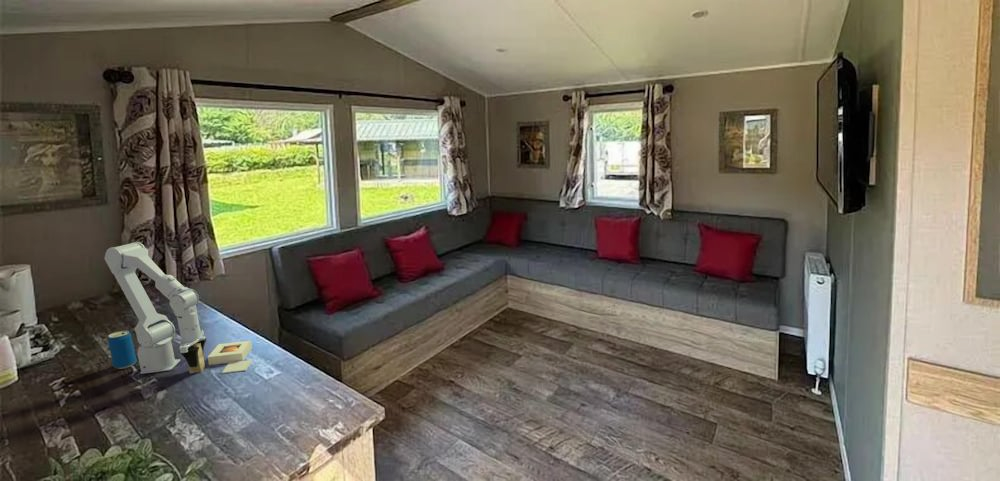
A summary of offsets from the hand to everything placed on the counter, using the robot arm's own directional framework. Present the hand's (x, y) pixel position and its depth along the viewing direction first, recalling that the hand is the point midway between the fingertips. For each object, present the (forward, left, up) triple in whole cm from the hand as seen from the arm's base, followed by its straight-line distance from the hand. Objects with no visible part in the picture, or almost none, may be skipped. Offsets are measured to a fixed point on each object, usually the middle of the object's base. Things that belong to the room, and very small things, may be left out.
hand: (196, 363), depth 164 cm
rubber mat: (+13, -2, -2) cm, 13 cm away
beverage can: (-27, +11, -3) cm, 29 cm away
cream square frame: (+8, +8, -2) cm, 12 cm away
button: (+8, +8, -1) cm, 12 cm away
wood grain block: (0, 0, -2) cm, 2 cm away
